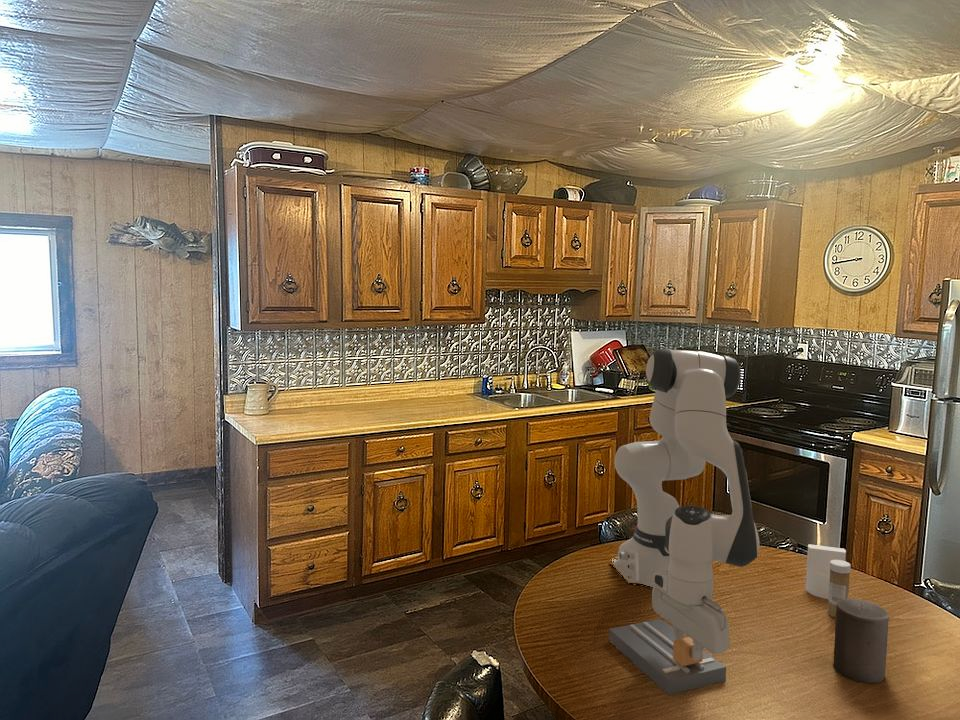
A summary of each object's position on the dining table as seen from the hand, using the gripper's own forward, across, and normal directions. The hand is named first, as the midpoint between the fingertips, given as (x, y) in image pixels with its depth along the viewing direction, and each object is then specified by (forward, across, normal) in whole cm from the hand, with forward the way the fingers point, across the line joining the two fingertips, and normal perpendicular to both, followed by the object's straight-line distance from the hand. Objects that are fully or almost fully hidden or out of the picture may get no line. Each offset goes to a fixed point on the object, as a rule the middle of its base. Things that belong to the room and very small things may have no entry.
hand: (687, 652), depth 138 cm
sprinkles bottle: (+6, +10, -53) cm, 54 cm away
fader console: (+6, +8, 0) cm, 10 cm away
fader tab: (+2, 0, 0) cm, 2 cm away
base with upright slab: (+6, +20, -61) cm, 65 cm away
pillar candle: (+6, -10, -36) cm, 38 cm away
